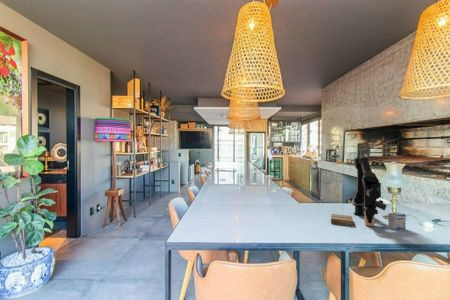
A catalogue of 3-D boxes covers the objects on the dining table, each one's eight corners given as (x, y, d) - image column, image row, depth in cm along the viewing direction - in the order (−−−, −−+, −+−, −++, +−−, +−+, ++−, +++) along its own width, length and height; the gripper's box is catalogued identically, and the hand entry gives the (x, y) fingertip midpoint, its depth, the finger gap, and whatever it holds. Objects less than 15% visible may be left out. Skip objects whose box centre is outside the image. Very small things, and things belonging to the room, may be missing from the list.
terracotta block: (364, 223, 149) (364, 211, 149) (373, 224, 147) (373, 212, 147) (365, 225, 145) (365, 213, 144) (374, 226, 143) (374, 214, 143)
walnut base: (331, 218, 160) (331, 213, 160) (351, 220, 155) (351, 216, 155) (331, 223, 149) (331, 218, 149) (353, 226, 144) (353, 221, 144)
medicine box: (395, 230, 138) (395, 215, 138) (388, 227, 142) (388, 212, 142) (405, 229, 140) (406, 214, 140) (398, 226, 144) (398, 212, 144)
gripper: (388, 200, 134) (388, 228, 134) (382, 194, 151) (382, 219, 151) (365, 198, 138) (365, 225, 138) (362, 193, 155) (361, 217, 155)
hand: (369, 222), depth 146 cm, fingers closed on terracotta block, 4 cm apart
